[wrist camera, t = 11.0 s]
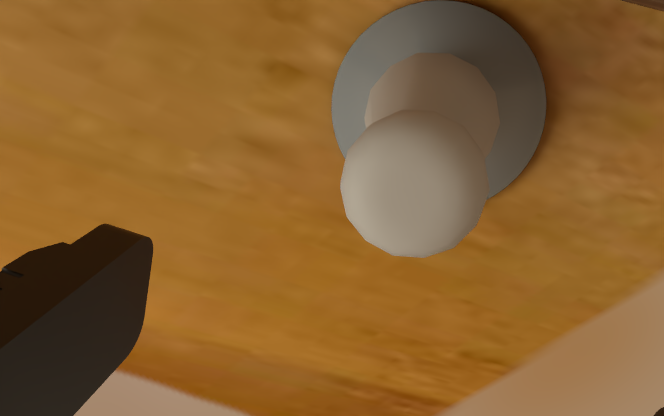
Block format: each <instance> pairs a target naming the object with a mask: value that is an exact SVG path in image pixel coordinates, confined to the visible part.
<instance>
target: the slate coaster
mask: <svg viewBox="0 0 664 416" xmlns="http://www.w3.org/2000/svg"><path fill="white" fill-rule="evenodd" d="M416 53H450V54H452V55H454V56H456V57H458V58H460V59H462V60H464V61H466V62H468V63H470V64H472V65H474V66H476V67H478V69H479V70H480V72H481V73H482V74H483V76H484V77H485V79H486V80H487V82H488V83H489V84H490V86H491V87H492V89H493V90H494V91H495V93H496V99H497V106H498V112H499V119H500V125H499V128H498V131H497V134H496V137H495V140H494V143H493V146H492V149H491V152H490V153H489V154H488V155H487V157H486V158H485V165H486V171H487V177H488V183H489V188H490V190H489V193H488V196H487V198H486V200H487V199H488V198H490V197H492V196H494V195H496V194H497V193H499V192H500V191H501V190H503V189H504V188H506V187H507V186H508V185H509V184H510V183H511V182H512V181H513V180H514V179H515V178H517V176H518V175H519V174H520V173H521V172H522V170H523V169H524V168H525V167H526V165H527V164H528V162H529V161H530V159H531V158H532V156H533V154H534V152H535V150H536V148H537V146H538V144H539V141H540V138H541V135H542V132H543V129H544V123H545V117H546V92H545V84H544V80H543V76H542V72H541V70H540V67H539V65H538V62H537V60H536V58H535V56H534V54H533V53H532V51H531V49H530V48H529V46H528V45H527V43H526V42H525V41H524V39H523V38H522V37H521V36H520V34H519V33H517V32H516V31H515V30H514V29H513V28H512V27H511V26H510V25H509V24H508V23H507V22H505V21H504V20H502V19H501V18H499V17H498V16H497V15H495V14H493V13H491V12H489V11H487V10H485V9H483V8H480V7H477V6H474V5H472V4H468V3H463V2H458V1H448V0H435V1H424V2H420V3H415V4H411V5H408V6H405V7H403V8H400V9H397V10H395V11H393V12H391V13H389V14H387V15H386V16H384V17H382V18H381V19H379V20H378V21H376V22H375V23H374V24H372V25H371V26H370V27H369V28H368V29H367V30H366V31H365V32H363V33H362V34H361V35H360V37H359V38H358V39H357V40H356V41H355V43H354V44H353V45H352V46H351V48H350V50H349V51H348V53H347V54H346V56H345V57H344V60H343V62H342V64H341V66H340V68H339V71H338V74H337V77H336V80H335V83H334V89H333V95H332V121H333V127H334V132H335V136H336V139H337V142H338V145H339V148H340V150H341V152H342V154H343V156H344V158H345V160H346V155H347V151H348V149H349V148H350V147H351V146H352V145H353V144H354V143H355V141H356V140H357V139H358V138H359V137H360V136H361V134H362V133H363V132H364V131H365V130H366V125H365V119H364V117H365V112H366V108H367V103H368V99H369V94H370V89H371V88H372V87H373V86H374V85H375V83H376V82H377V81H378V80H379V79H380V78H381V76H382V75H383V74H384V73H385V72H386V71H387V69H388V68H389V67H390V66H392V65H394V64H396V63H398V62H400V61H402V60H404V59H406V58H408V57H410V56H412V55H414V54H416Z"/></svg>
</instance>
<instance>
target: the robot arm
mask: <svg viewBox="0 0 664 416" xmlns="http://www.w3.org/2000/svg"><path fill="white" fill-rule="evenodd" d="M152 256H153V243H152V240H151V239H150V238H149V237H146V236H143V235H140V234H137V233H134V232H131V231H128V230H125V229H121V228H118V227H115V226H112V225H109V224H102V225H100V226H98V227H97V228H95V229H93V230H92V231H90V232H89V233H87V234H86V235H84V236H83V237H81V238H80V239H78V240H77V241H75V242H74V243H72V244H71V245H70V244H67V243H64V242H61V243H58V244H54V245H51V246H47V247H44V248H40V249H36V250H33V251H29V252H27V253H26V254H24V255H22V256H21V257H19V258H17V259H16V260H14V261H13V262H11V263H9V264H8V265H6V266H4V267H3V268H2V271H1V272H0V416H73V415H74V414H75V413H76V412H77V411H78V410H79V409H80V408H81V407H82V406H83V404H84V403H85V402H86V401H87V400H88V399H89V398H90V397H91V396H92V395H93V394H94V392H95V391H96V390H97V389H98V388H99V387H100V386H101V385H102V384H103V383H104V381H105V380H106V379H107V378H108V377H109V376H110V375H111V374H112V373H113V372H114V371H115V369H116V368H117V367H118V366H119V365H120V364H121V363H122V362H123V361H124V360H125V359H126V357H127V356H128V355H129V353H130V352H131V351H132V349H133V347H134V345H135V343H136V342H137V339H138V337H139V335H140V332H141V329H142V325H143V321H144V315H145V308H146V301H147V293H148V286H149V278H150V271H151V264H152ZM654 416H664V407H663V408H661V409H660V410H658V412H656V414H655V415H654Z"/></svg>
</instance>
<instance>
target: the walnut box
mask: <svg viewBox="0 0 664 416" xmlns="http://www.w3.org/2000/svg"><path fill="white" fill-rule="evenodd" d="M622 1H626V2H630V3H634V4H638V5H641V6H645V7H649V8H653V9H657V10H661V11H664V0H622Z"/></svg>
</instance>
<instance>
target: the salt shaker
mask: <svg viewBox="0 0 664 416" xmlns="http://www.w3.org/2000/svg"><path fill="white" fill-rule="evenodd" d="M364 119H365V125H366V130H365V131H364V132H363V133H362V134H361V136H360V137H359V138H358V139H357V140H356V141H355V143H354V144H353V145H352V146H351V147H350V148H349V149H348V151H347V155H346V160H345V164H344V169H343V173H342V178H341V184H340V189H341V193H342V198H343V202H344V207H345V211H346V216H347V218H348V219H349V220H350V222H351V223H352V224H353V225H354V227H355V228H356V229H357V230H358V232H359V233H360V234H361V235H362V236H363V238H364V239H365V240H366V241H367V242H369V243H371V244H373V245H375V246H377V247H378V248H380V249H382V250H384V251H386V252H388V253H390V254H391V255H394V256H408V257H422V258H425V257H428V256H431V255H434V254H437V253H440V252H443V251H446V250H449V249H452V248H454V247H455V246H456V245H457V244H458V243H459V242H460V241H461V240H462V239H463V238H464V237H465V236H466V235H467V234H468V233H469V232H470V231H471V230H472V229H473V228H474V227H475V226H476V225H477V223H478V221H479V218H480V215H481V213H482V210H483V207H484V204H485V201H486V198H487V196H488V193H489V190H490V188H489V183H488V177H487V171H486V165H485V158H486V157H487V155H488V154H489V153H490V152H491V149H492V146H493V143H494V140H495V137H496V134H497V131H498V128H499V125H500V119H499V112H498V106H497V99H496V93H495V91H494V90H493V89H492V87H491V86H490V84H489V83H488V82H487V80H486V79H485V77H484V76H483V74H482V73H481V72H480V70H479V69H478V67H476V66H474V65H472V64H470V63H468V62H466V61H464V60H462V59H460V58H458V57H456V56H454V55H452V54H450V53H416V54H414V55H412V56H410V57H408V58H406V59H404V60H402V61H400V62H398V63H396V64H394V65H392V66H390V67H389V68H388V69H387V71H386V72H385V73H384V74H383V75H382V76H381V78H380V79H379V80H378V81H377V82H376V83H375V85H374V86H373V87H372V88H371V89H370V94H369V99H368V103H367V108H366V112H365V117H364Z"/></svg>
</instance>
